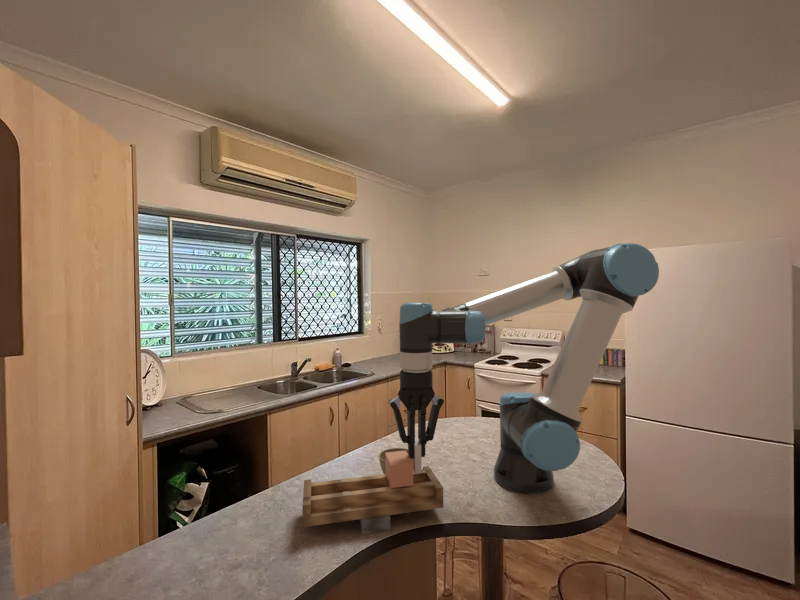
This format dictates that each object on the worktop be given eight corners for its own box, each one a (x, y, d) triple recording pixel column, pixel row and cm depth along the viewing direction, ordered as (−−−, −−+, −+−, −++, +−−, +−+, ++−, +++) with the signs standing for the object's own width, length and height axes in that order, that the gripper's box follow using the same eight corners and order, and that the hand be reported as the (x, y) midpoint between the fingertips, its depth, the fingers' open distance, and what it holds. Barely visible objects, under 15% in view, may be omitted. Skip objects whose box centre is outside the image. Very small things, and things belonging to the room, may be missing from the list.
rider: (406, 481, 91) (405, 450, 91) (413, 496, 84) (413, 462, 84) (385, 483, 90) (385, 452, 90) (391, 499, 83) (390, 465, 83)
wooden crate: (428, 494, 95) (428, 464, 95) (444, 522, 83) (444, 488, 83) (304, 510, 88) (304, 478, 88) (303, 543, 77) (302, 506, 77)
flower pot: (413, 492, 96) (412, 464, 96) (374, 489, 98) (374, 461, 98) (419, 474, 106) (418, 448, 106) (384, 471, 108) (383, 446, 108)
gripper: (438, 365, 93) (438, 461, 93) (385, 367, 90) (386, 466, 90) (448, 371, 85) (448, 475, 86) (391, 373, 83) (392, 481, 83)
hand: (416, 470), depth 88 cm, fingers closed
